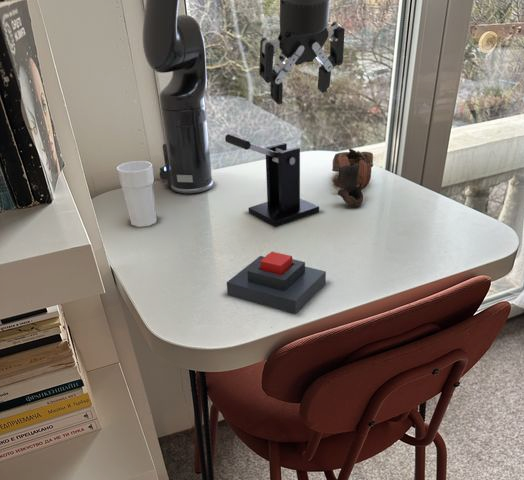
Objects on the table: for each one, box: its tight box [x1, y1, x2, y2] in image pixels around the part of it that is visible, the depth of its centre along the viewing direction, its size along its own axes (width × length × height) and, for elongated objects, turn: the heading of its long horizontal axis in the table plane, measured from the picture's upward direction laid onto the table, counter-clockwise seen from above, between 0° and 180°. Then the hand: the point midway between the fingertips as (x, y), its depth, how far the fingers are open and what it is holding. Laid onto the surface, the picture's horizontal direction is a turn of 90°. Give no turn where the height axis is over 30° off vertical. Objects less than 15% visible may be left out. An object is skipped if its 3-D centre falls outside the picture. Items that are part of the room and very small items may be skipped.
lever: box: [224, 133, 283, 163], centre depth 101 cm, size 13×6×2 cm, turn 124°
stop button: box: [260, 251, 293, 275], centre depth 84 cm, size 4×4×2 cm
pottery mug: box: [332, 148, 372, 208], centre depth 112 cm, size 12×10×8 cm
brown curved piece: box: [331, 151, 374, 173], centre depth 121 cm, size 15×3×8 cm
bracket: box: [248, 142, 320, 228], centre depth 107 cm, size 11×9×13 cm
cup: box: [116, 160, 157, 228], centre depth 107 cm, size 7×7×11 cm
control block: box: [226, 254, 327, 314], centre depth 85 cm, size 12×10×4 cm
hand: (299, 96), depth 95 cm, fingers open, 8 cm apart
